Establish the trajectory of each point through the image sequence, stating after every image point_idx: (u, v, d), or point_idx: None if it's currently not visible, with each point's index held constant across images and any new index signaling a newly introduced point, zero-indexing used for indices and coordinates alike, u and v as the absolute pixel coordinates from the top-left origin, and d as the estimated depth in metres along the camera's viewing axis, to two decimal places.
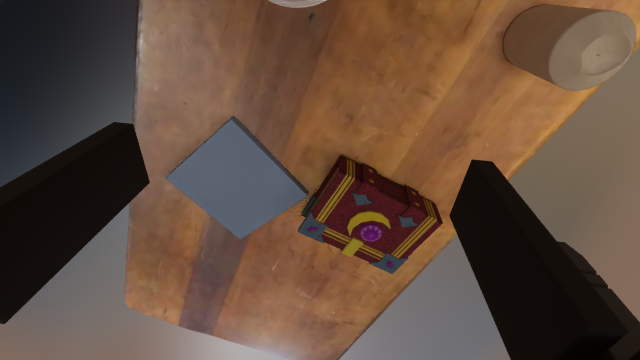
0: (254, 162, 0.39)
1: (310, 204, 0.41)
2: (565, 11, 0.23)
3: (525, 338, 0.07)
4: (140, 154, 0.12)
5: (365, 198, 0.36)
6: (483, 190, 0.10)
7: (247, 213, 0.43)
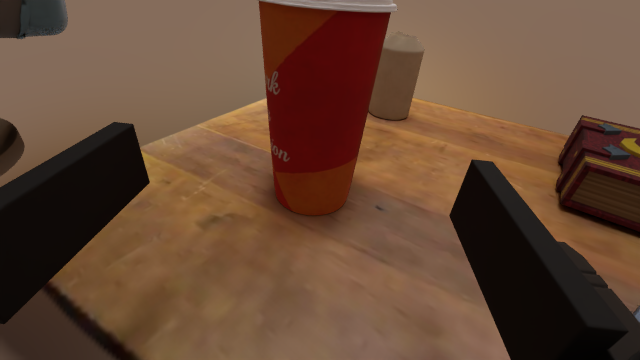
0: None
1: None
2: None
3: (525, 338, 0.07)
4: (140, 154, 0.12)
5: (609, 147, 0.25)
6: (483, 190, 0.10)
7: None
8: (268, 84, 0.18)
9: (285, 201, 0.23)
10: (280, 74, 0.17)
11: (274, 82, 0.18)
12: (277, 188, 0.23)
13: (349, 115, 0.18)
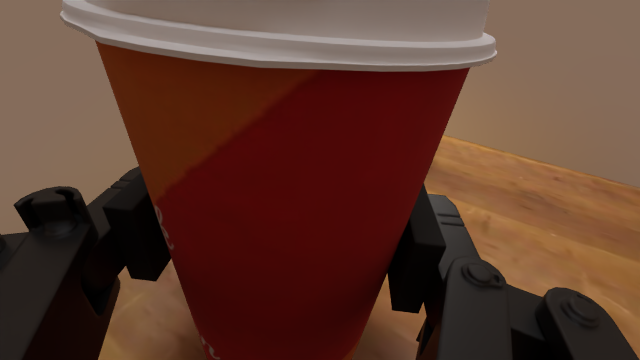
0: None
1: None
2: None
3: (395, 268, 0.09)
4: None
5: None
6: None
7: None
8: None
9: None
10: (166, 217, 0.06)
11: (161, 224, 0.07)
12: None
13: (355, 297, 0.07)
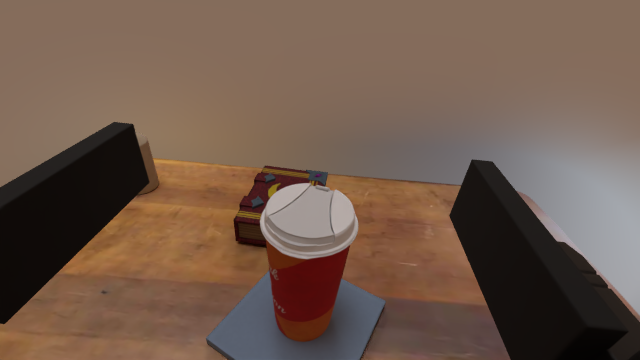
0: (260, 304, 0.34)
1: None
2: None
3: (525, 338, 0.07)
4: (140, 154, 0.12)
5: (255, 199, 0.43)
6: (483, 190, 0.10)
7: (337, 299, 0.35)
8: (270, 269, 0.26)
9: (283, 331, 0.30)
10: (279, 273, 0.25)
11: (275, 273, 0.26)
12: (277, 320, 0.31)
13: (327, 292, 0.26)
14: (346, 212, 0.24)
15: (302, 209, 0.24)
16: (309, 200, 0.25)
